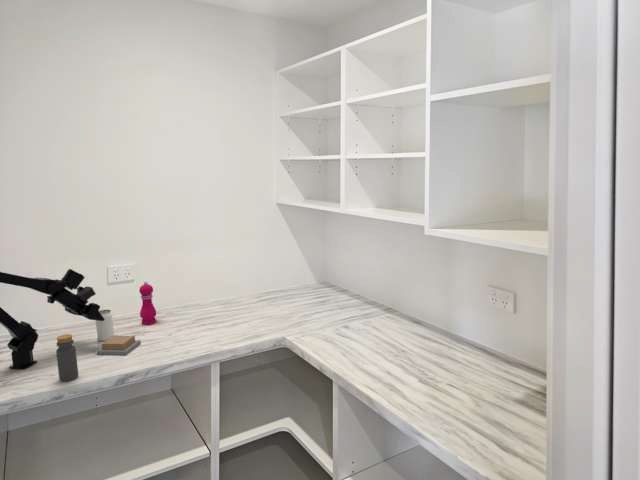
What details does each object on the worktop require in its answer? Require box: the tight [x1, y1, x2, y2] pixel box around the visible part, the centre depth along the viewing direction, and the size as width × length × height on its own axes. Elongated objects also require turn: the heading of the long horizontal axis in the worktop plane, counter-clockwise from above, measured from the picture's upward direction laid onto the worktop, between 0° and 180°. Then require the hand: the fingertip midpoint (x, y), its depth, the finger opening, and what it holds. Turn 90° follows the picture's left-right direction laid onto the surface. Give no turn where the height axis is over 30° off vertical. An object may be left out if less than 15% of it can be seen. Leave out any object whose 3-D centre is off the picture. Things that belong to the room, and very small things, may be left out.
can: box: [95, 309, 115, 342], centre depth 197 cm, size 6×6×12 cm
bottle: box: [55, 333, 79, 382], centre depth 159 cm, size 6×6×15 cm
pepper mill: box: [138, 280, 157, 326], centre depth 216 cm, size 7×7×20 cm
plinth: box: [95, 334, 141, 356], centre depth 185 cm, size 12×12×4 cm
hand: (97, 318), depth 194 cm, fingers open, 9 cm apart
